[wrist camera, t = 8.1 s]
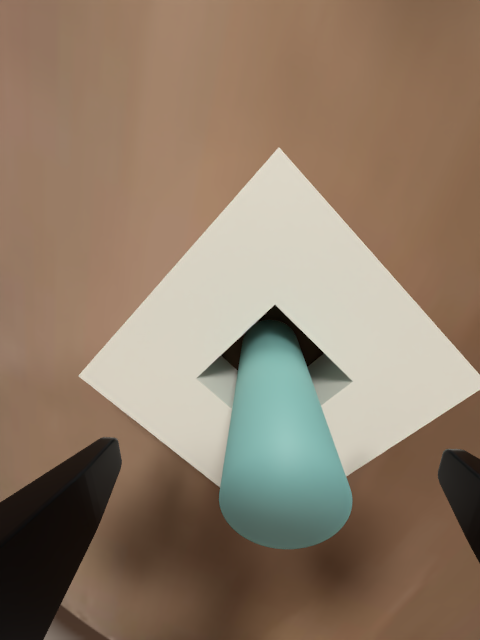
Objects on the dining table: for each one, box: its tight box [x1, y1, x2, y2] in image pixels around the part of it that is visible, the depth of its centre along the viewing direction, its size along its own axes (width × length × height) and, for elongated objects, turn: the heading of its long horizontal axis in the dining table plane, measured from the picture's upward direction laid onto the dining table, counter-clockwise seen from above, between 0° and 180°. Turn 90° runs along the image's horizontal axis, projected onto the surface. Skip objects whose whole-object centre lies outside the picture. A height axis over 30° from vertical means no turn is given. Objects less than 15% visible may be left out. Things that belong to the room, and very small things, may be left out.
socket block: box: [79, 148, 480, 487], centre depth 13 cm, size 12×12×4 cm
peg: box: [219, 320, 352, 549], centre depth 11 cm, size 3×3×9 cm
